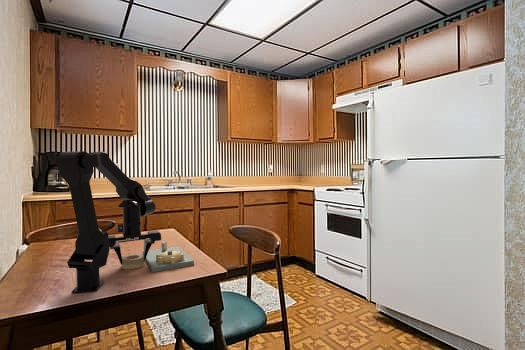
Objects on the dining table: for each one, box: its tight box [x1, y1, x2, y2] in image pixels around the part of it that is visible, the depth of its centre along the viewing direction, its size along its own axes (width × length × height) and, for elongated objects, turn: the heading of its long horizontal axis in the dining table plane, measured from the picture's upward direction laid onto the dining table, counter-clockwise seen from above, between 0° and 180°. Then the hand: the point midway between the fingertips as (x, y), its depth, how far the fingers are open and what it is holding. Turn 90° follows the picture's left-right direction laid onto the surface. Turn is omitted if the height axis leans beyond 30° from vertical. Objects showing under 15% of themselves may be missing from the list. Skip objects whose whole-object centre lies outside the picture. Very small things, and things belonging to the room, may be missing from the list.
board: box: [142, 246, 195, 273], centre depth 109 cm, size 22×14×4 cm, turn 30°
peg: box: [160, 241, 168, 253], centre depth 113 cm, size 2×2×4 cm
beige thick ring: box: [121, 253, 145, 270], centre depth 103 cm, size 7×7×3 cm
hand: (133, 262), depth 103 cm, fingers closed on beige thick ring, 7 cm apart
